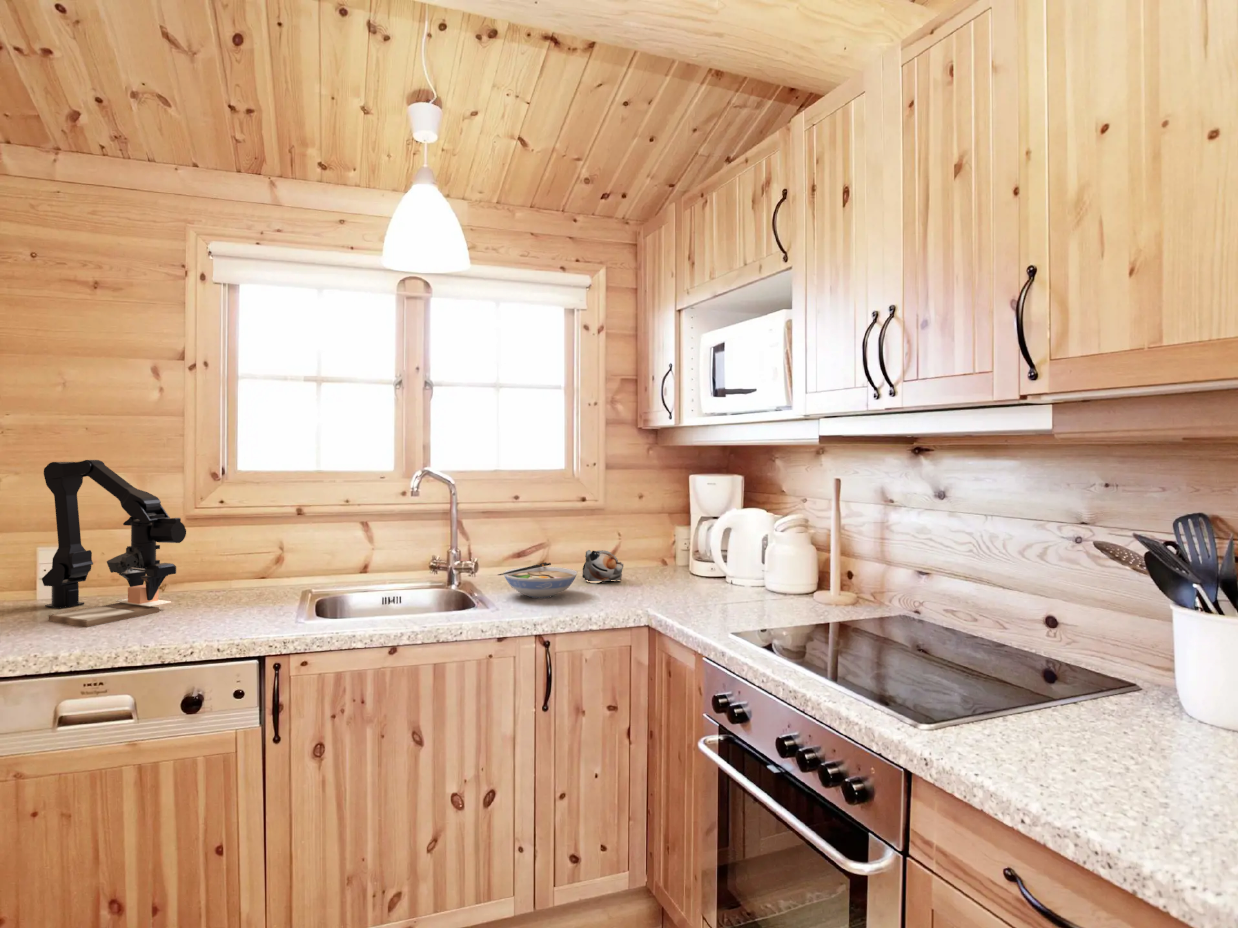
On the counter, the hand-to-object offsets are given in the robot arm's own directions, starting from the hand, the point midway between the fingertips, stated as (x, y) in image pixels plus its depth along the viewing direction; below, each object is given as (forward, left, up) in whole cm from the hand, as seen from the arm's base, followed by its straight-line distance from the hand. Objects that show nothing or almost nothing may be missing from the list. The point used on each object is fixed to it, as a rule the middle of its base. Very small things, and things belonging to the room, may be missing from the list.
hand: (143, 599), depth 193 cm
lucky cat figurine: (+96, +94, -3) cm, 134 cm away
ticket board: (0, -10, -3) cm, 10 cm away
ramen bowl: (+88, +63, -3) cm, 108 cm away
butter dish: (0, 0, -1) cm, 1 cm away
